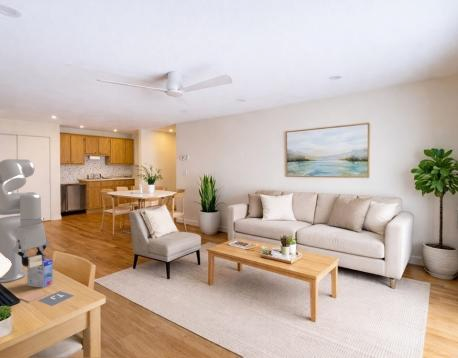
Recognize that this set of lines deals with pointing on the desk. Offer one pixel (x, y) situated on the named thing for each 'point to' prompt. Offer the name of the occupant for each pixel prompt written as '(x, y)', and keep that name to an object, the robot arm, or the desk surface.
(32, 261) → the maple block
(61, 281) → the desk surface
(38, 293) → the terracotta tile
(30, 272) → the ink cartridge box
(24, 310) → the desk surface
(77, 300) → the desk surface
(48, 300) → the gray board
